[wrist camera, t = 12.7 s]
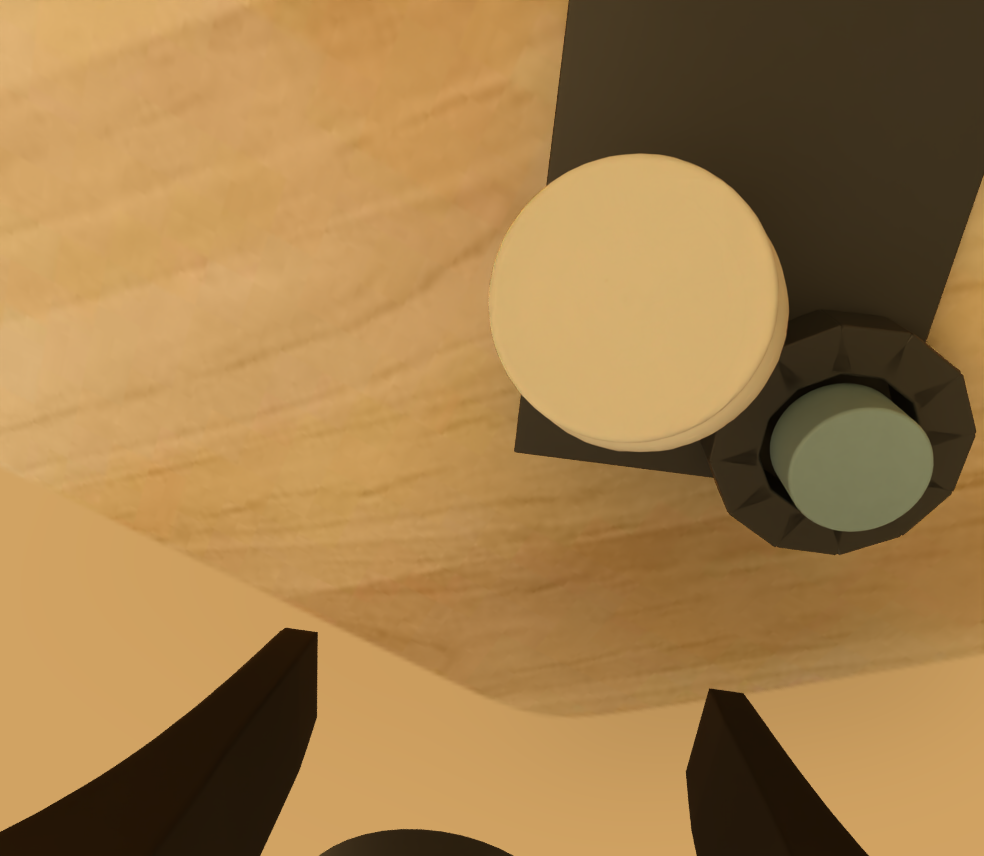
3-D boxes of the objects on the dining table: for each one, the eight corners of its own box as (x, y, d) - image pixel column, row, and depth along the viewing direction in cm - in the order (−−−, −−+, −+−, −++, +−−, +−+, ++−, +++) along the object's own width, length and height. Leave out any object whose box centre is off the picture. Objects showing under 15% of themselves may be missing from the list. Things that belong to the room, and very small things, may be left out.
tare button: (879, 505, 19) (909, 541, 17) (755, 489, 19) (772, 523, 17) (920, 390, 18) (955, 417, 16) (786, 374, 18) (808, 399, 16)
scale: (879, 511, 22) (924, 568, 19) (512, 464, 22) (505, 513, 20) (1054, 16, 17) (1150, -4, 14) (573, -31, 17) (575, -60, 14)
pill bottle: (532, 285, 19) (413, 214, 11) (713, 205, 18) (731, 55, 9) (599, 457, 19) (529, 517, 11) (786, 389, 17) (869, 396, 9)
